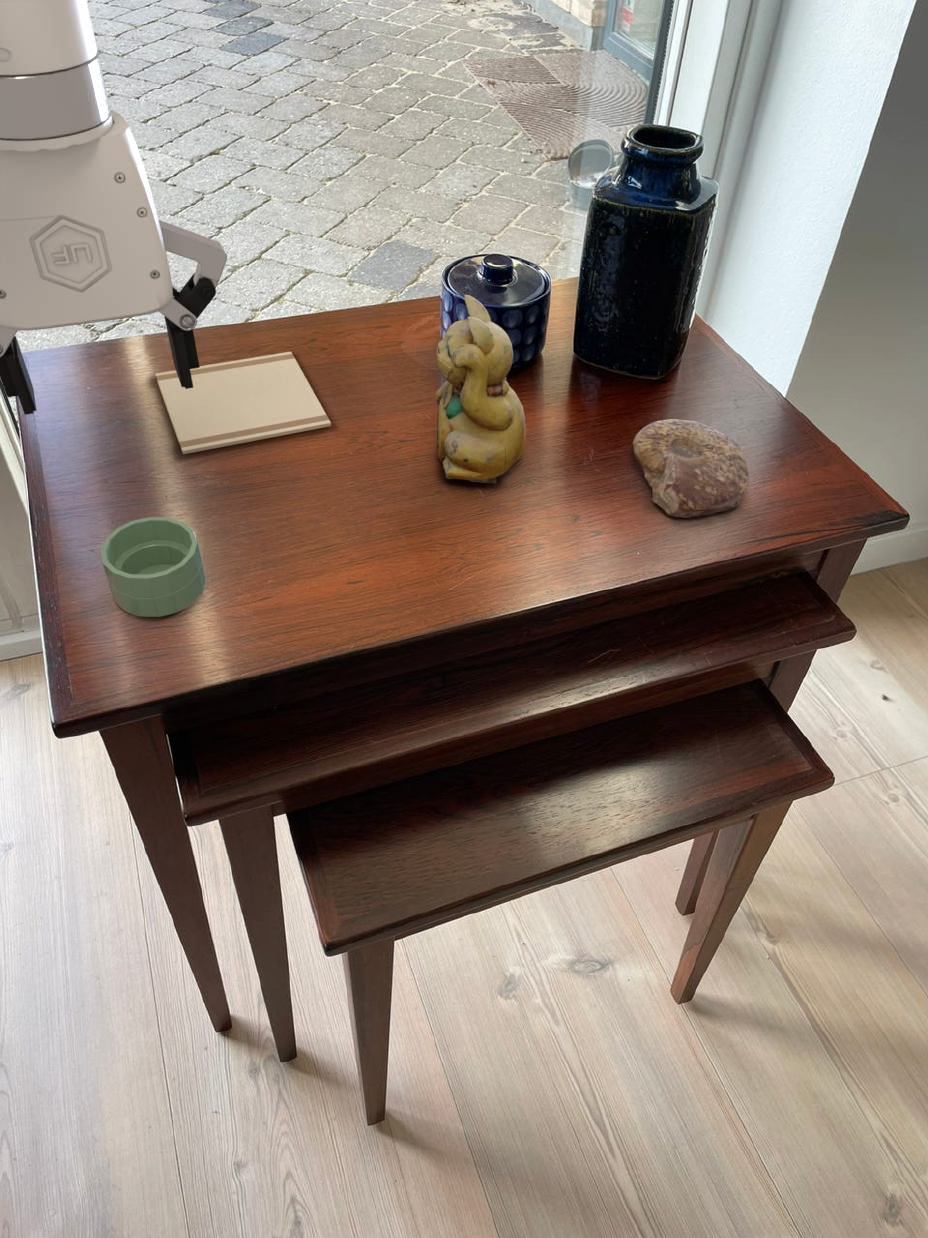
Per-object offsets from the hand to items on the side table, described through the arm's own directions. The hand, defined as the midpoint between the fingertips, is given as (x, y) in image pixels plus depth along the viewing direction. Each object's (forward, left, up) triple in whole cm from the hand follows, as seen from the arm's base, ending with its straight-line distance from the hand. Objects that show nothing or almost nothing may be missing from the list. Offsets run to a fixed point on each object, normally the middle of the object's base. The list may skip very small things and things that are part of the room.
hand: (108, 389), depth 58 cm
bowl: (0, -1, -17) cm, 17 cm away
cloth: (+12, +23, -17) cm, 31 cm away
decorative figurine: (+30, +6, -17) cm, 35 cm away
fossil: (+47, -3, -17) cm, 50 cm away
